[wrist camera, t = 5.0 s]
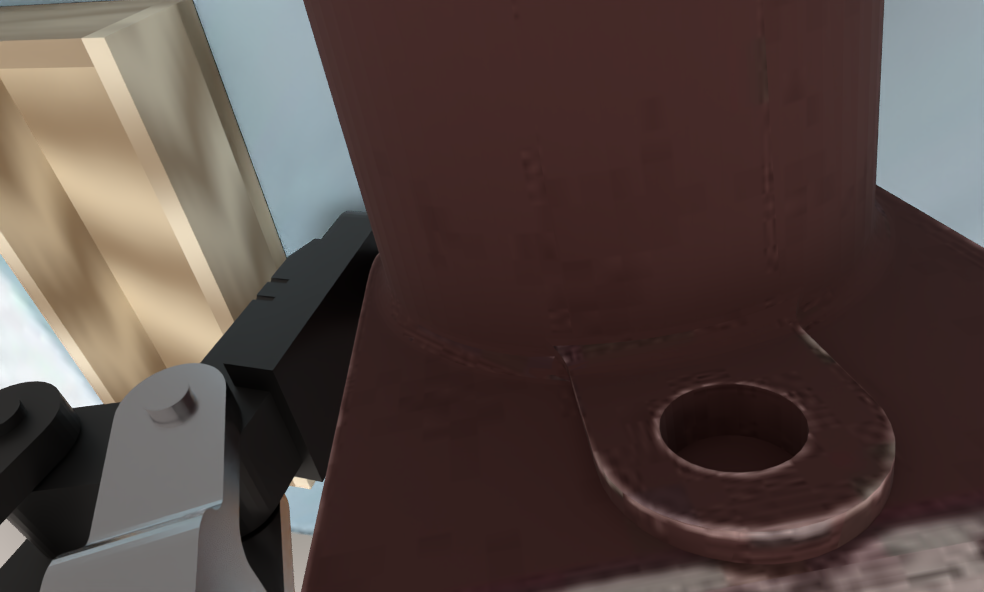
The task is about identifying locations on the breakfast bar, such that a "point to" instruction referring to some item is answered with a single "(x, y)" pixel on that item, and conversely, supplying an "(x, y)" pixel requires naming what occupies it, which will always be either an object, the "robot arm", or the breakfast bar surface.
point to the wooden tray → (127, 186)
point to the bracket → (643, 308)
